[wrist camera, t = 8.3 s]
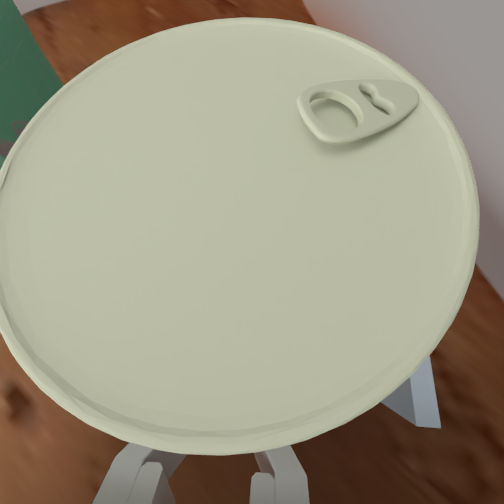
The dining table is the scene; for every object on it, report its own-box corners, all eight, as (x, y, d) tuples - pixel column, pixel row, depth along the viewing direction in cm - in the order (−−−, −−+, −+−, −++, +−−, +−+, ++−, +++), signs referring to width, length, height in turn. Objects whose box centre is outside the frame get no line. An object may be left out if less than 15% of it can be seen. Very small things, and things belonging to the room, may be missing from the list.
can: (355, 324, 14) (695, 278, 3) (211, 392, 14) (-79, 677, 2) (286, 202, 17) (323, -54, 6) (165, 252, 17) (-55, 69, 5)
